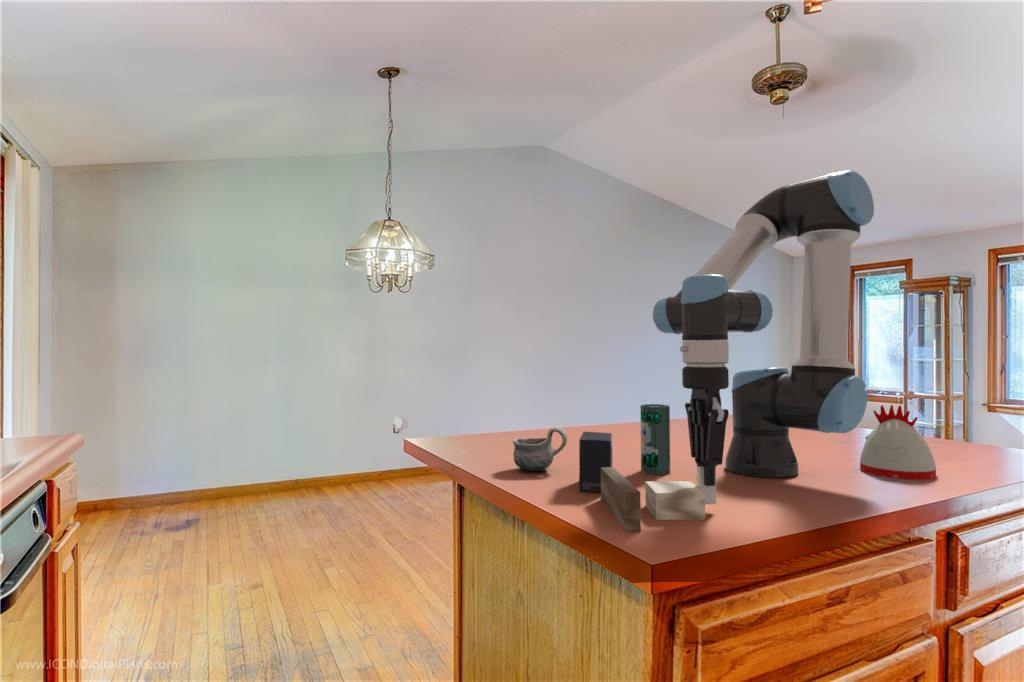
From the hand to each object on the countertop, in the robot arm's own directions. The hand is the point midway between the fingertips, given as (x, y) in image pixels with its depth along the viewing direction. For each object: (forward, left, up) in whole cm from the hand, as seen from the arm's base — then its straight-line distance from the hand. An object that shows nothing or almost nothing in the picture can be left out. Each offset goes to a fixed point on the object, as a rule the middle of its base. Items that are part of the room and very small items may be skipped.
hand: (706, 503), depth 95 cm
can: (-1, -31, -2) cm, 31 cm away
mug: (+25, -35, -2) cm, 43 cm away
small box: (+15, -19, -2) cm, 24 cm away
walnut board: (+15, 0, -2) cm, 15 cm away
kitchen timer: (-54, -26, -2) cm, 60 cm away
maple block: (+5, 0, -2) cm, 6 cm away
